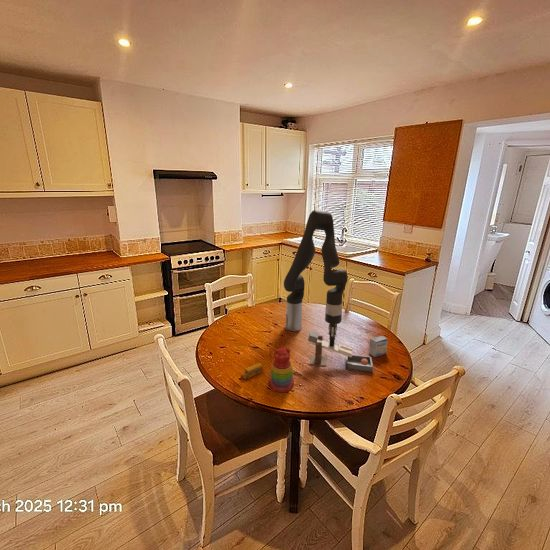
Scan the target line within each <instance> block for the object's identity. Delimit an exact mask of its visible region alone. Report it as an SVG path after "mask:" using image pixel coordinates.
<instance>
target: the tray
mask: <svg viewBox="0 0 550 550" xmlns="http://www.w3.org/2000/svg"><path fill="white" fill-rule="evenodd" d="M344 359H345V370H347V371H348V370H349V371H354V372H355V371H356V372H364V373H371V374H372V373H373V370H374V366H373V365H374V364H373V358H372V355H363V354H361V355H360V354H353V355H352V357H349V356H346V355H345V358H344ZM362 359H367V361H368V364H367V365H362V364H361V360H362Z"/></svg>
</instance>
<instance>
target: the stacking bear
mask: <svg viewBox="0 0 550 550" xmlns="http://www.w3.org/2000/svg"><path fill="white" fill-rule="evenodd" d="M273 358H274V360H273V362H272V365H271V369H270V377H269V380H268V381H269V386H270V388H272V390H273V391H275V392H277V393H287V392H289V391H291V389H293V388H294V385H295V380H294V377H293V376H294V369H293V365H292V362H291V360H290V359H291V350H290V348H285V347H279V348H277V349H275V350H274V352H273Z"/></svg>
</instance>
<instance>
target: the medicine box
mask: <svg viewBox="0 0 550 550" xmlns="http://www.w3.org/2000/svg"><path fill="white" fill-rule="evenodd" d="M368 347H369V348H368V354H369V356H371V357H374V358H377V357H380V356H383V355H385V354H387V349H388V338H387V337H385V336H383V335H379V336H375V337H372V338H371V337H370V338H369V346H368Z"/></svg>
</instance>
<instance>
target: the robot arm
mask: <svg viewBox="0 0 550 550" xmlns="http://www.w3.org/2000/svg"><path fill="white" fill-rule="evenodd" d="M333 218H334V217H333V215H332V213H331V212H328V211H325V210H318V209H317V210H316V209H315V210H312V211H311V212H310V213H309V215H308V218H307V222H306V225H305V228H304V232H303V235H302V238H301V241H300V243H299V246H298V248H297V250H296V253H295V256H294V258H293V261H292V263H291V266H290V268H289V270H288V271H287V274H286V276H285V277H284V279H283V287H284V290H285V291H286V292H289V294H288V295H287V296H286V314H285V330H288V331H291V332H299V331H301V330H302V328H303V299H304V297H305V279H304V277H303V276H302V273H303V271H305V270H306V269H307V268H308V267H309V266H310V264H311V263H312V261H313V259H314V258H315V257H314V256H315V253H316V248H315V244H314V243H315V242H314V239H313V237H314V234H315V231H316V230H317V231H324V234H325V239H324V241H323V243H322V246H321V256H322V257H321V258H322V261H323V282H324V284H325V285H326V286H328V287H329V286H330V287H333V286H334V288H331V289H328V290H327V292H326V299H325V300H326V301H325V312H324V313H325V314H324V315H325V316H324V321H325V322H326V323H327V324H328V335H329V338H328V340H329V342H330V346H334V344H335V340H336V336H337V330H338V325H339V324H341V322H342V320H343V319H342V317H343V294H344V292H345V288H346V286H347V283H348V273H347V271H346V270H345V269H333V268H336V267H338V266H339V264H340V258H339V255H338V250H337V246H336V239H335V236H336V235H335V226H334V225H335V224H334V219H333Z"/></svg>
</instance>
